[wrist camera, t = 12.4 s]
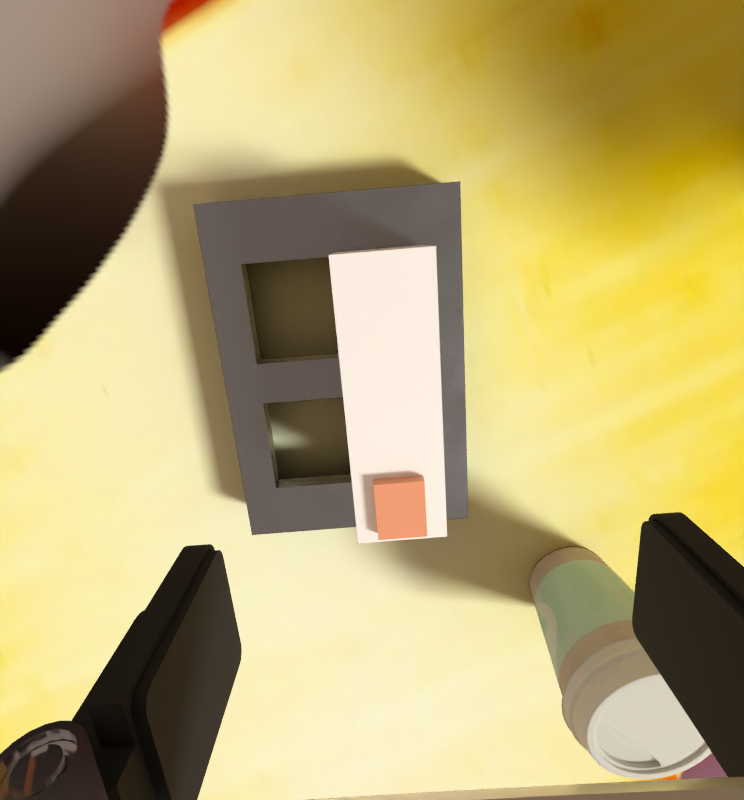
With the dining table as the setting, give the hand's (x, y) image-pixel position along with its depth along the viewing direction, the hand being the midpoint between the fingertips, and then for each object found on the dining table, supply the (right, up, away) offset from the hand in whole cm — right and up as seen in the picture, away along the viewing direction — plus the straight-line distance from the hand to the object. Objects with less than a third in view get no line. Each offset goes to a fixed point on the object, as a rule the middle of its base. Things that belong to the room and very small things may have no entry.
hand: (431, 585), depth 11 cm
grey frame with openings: (-3, +6, +21) cm, 22 cm away
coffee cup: (+13, -9, +26) cm, 31 cm away
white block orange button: (-1, +7, +21) cm, 22 cm away
